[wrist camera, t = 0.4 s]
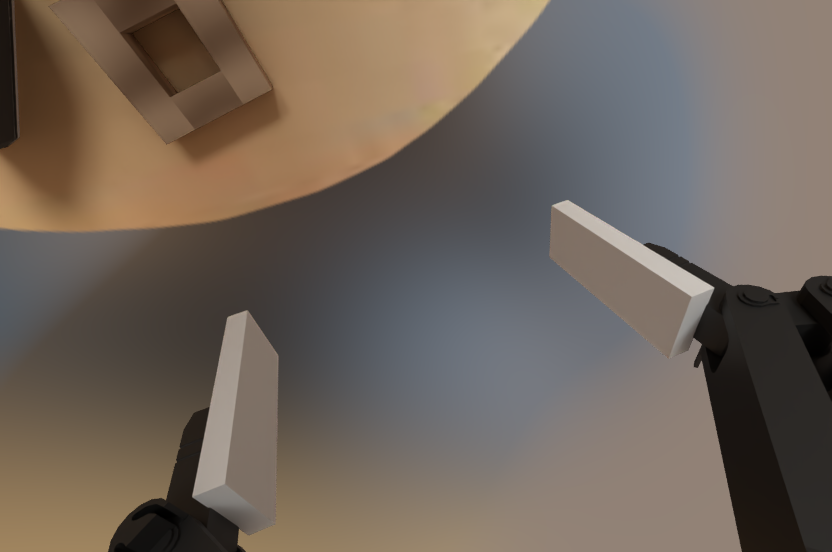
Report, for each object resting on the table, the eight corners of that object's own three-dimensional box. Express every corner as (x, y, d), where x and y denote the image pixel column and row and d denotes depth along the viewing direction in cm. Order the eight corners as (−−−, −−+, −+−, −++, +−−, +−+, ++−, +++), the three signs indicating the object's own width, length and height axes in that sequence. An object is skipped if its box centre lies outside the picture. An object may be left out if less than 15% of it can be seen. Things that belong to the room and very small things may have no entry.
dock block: (66, 8, 26) (48, 6, 24) (188, -55, 26) (180, -63, 24) (174, 137, 32) (166, 144, 30) (272, 86, 32) (271, 89, 30)
